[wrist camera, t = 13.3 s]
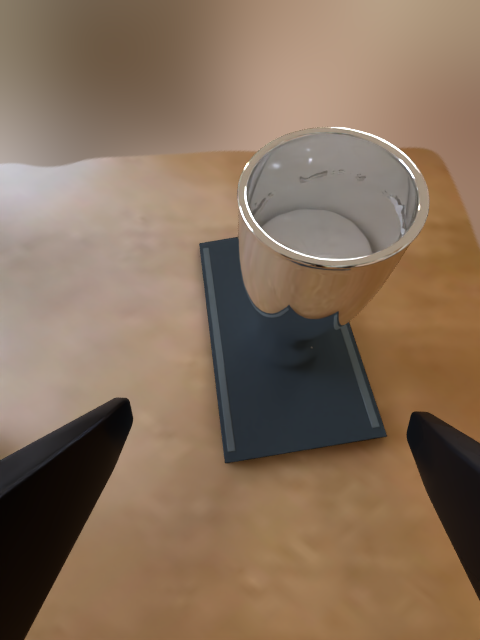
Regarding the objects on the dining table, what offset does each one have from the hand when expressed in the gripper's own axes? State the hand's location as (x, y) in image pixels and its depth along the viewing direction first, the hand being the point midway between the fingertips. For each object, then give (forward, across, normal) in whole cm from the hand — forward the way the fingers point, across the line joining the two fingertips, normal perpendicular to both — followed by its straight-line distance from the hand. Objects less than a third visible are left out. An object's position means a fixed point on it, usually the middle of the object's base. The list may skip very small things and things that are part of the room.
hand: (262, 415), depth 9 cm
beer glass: (+15, -2, +4) cm, 15 cm away
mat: (+16, -1, +3) cm, 16 cm away
